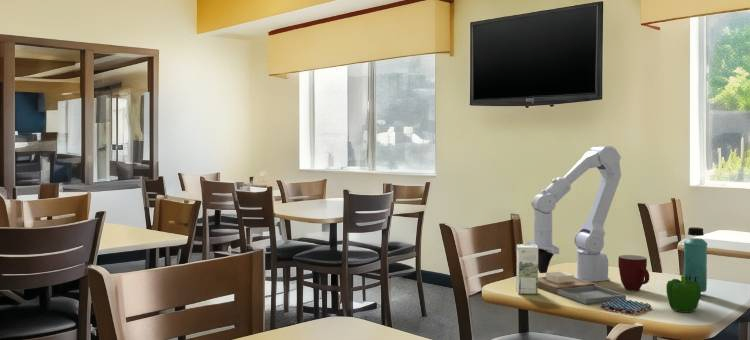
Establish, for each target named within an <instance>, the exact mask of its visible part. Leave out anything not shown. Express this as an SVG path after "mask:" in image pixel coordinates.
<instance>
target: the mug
mask: <svg viewBox="0 0 750 340" xmlns="http://www.w3.org/2000/svg"><path fill="white" fill-rule="evenodd" d="M647 260H648V258H647V257H646V256H642V255H635V254H622V255H618V271H619V276H620V277H619V278H620V282H621V283H622V286H623V287H624V288H623V289H625V290H626V291H630V292H638V291H640V289H641V288H642V286H643V285H646V284H648V283H649V282H650V273H649V271H648V269H647V266H648V261H647Z"/></svg>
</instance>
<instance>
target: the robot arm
mask: <svg viewBox="0 0 750 340" xmlns="http://www.w3.org/2000/svg"><path fill="white" fill-rule="evenodd" d="M620 161H621V154H620V153H619V152H618V150H617V149H616V148H615V147H614V146H612V145H607V146H601V145H595V146H592V147H591V148H589V150H588V151H586V152H585V153H584V154H583V156H582V157H581V158H580V159H579V160H578V161H577V162H576V163H575V164H574V165H573V166H572V168H570V169H569V170H568V171H567V172H566V173H565V175H564V176H560V177H556V178H553V179H552V180H551V183H550V184H549V185H548V186H547V187H546V188H545V189H542V190H541V191H540V192H541V193H538V194H536V195H535V196H534V197H533V198H532V201H531V207H532V209H533V210H534V211H533V212H534V215H533V240H532V241H531V240H530V241H527V244H536V245H537V247H538V274H539V273H540V274H546V273H548V268H549V266H550V262H551V260H552V258H553V256H554V255H559V254H560V247H557V246H555V245H553V211H554V210H555V209H556V206H557V205H556V204H557V203H559V202H560V200H562V199H563V197H565V196H566V194H568V193H569V192H570V191H571V187H572V184H573V183H574V182H576V181H577V180H578V179H579V178H580V177H581V176H582V175H583V174H585V172H587V171H588V170H589V169H594V168H597V169H598V171H599V173H600V175H601V180H600V183H599V185H598V188H597V191H596V194H595V197H594V200H593V202H592V205H591V208H590V210H589V214H588V216H587V219H586V221H585V222H584V223H583V224H582V225H581V226H580V229H579V230H578V231H577V232H576V233H575V235H574V237H573V238H574V240H573V241H574V244H575V246H576V247H577V250H576V252H577V253H576V254H577V257H576V259H577V260H576V275H574V277H575V278H578V279H582V280H585V281H588V282H591V283H594V282H603V281H610V279H611V278H609V259H608V256H607V254H606V253H605V252H603V251H602V250H603V248H604V246H605V241H604V240H605V239H604V237H605V234H606V233H605V230H604V225H605V222H606V220H607V216H608V214H609V211H610V208H611V206H612V202H613V199H614V197H615V195H616V191H617V188H618V186H619V183H620V180H621V177H622V171H621V164H620V163H621V162H620Z"/></svg>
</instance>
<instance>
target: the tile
mask: <svg viewBox="0 0 750 340" xmlns="http://www.w3.org/2000/svg"><path fill="white" fill-rule="evenodd" d="M574 276H575V274H571V273H568V272H565V271H552V272H547V273H545V277H546V279H547V280H550V281H553V282H556V283H563V282H573V281H574Z"/></svg>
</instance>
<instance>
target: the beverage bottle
mask: <svg viewBox="0 0 750 340" xmlns="http://www.w3.org/2000/svg"><path fill="white" fill-rule="evenodd" d="M687 235H688V236H696V237H691V238H687V239H686V240H685V241H683V245H684V246H683V247H684V248H683V255H682V256H683V259H682V261H683V264H682V265H683V270H682V272H683V275H685V281H686V280H691V281H693V282H698V283H699V284H700V286H701V293H705V292H706V291H707V290H708V289H707V288H708V287H707V286H708V285H707V284H708V268H707V264H708V261H707V260H708V242H706V240H704V239H703V238H697V236H699V237H701V236H704V228H702V227H698V226H697V227H692V226H691V227H688V232H687Z"/></svg>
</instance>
